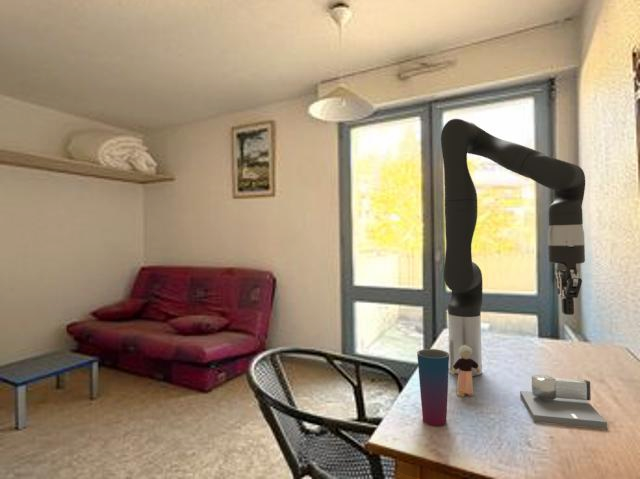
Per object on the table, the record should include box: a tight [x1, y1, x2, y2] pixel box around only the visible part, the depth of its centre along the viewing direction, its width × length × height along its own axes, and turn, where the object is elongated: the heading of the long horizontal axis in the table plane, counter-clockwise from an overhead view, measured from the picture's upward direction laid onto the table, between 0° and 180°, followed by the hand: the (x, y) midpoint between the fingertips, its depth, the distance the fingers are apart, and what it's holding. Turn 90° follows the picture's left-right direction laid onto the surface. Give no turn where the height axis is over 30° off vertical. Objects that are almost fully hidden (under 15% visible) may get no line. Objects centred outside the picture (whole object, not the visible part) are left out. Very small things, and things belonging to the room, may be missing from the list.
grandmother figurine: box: [450, 345, 480, 397], centre depth 99 cm, size 8×4×13 cm, turn 105°
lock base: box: [519, 390, 608, 430], centre depth 88 cm, size 14×14×2 cm
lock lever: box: [531, 374, 591, 401], centre depth 90 cm, size 12×5×4 cm, turn 73°
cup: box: [416, 348, 450, 427], centre depth 85 cm, size 7×7×15 cm
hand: (567, 314), depth 94 cm, fingers closed
